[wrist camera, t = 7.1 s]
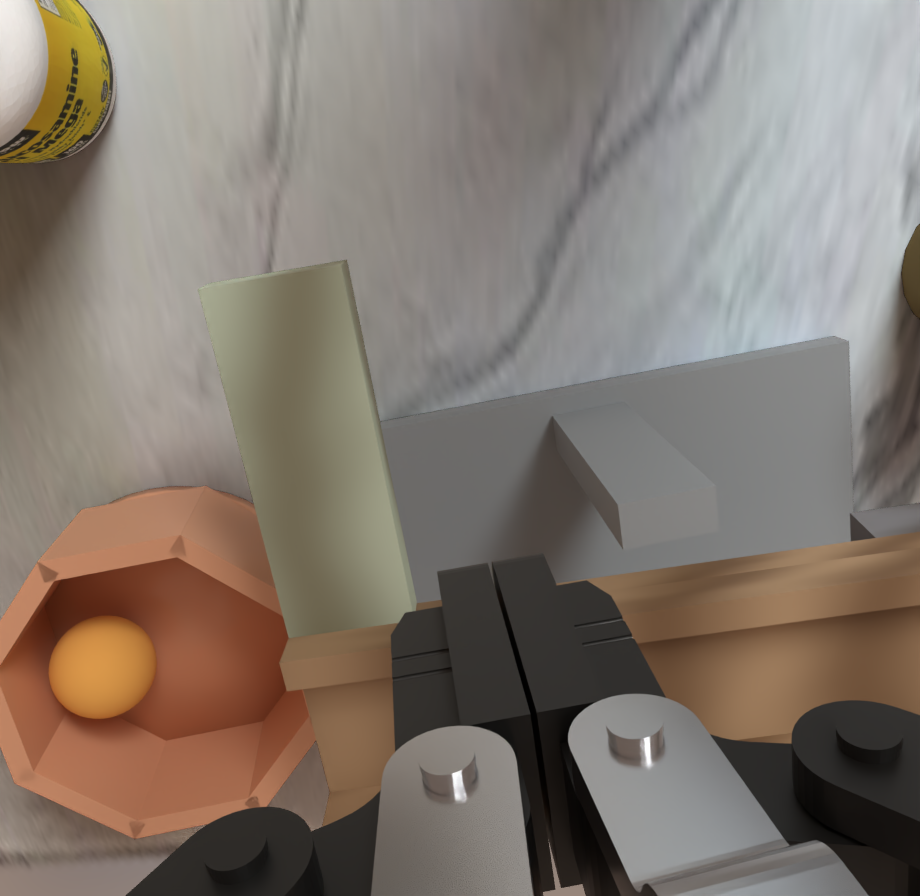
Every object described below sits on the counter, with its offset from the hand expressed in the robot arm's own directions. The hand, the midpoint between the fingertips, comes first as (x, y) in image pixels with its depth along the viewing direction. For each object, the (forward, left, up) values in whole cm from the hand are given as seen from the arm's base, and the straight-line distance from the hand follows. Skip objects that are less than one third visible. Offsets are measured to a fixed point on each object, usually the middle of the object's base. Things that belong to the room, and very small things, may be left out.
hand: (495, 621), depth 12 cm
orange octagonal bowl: (+11, -12, -24) cm, 29 cm away
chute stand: (+11, +6, -24) cm, 27 cm away
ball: (+11, -15, -21) cm, 28 cm away
